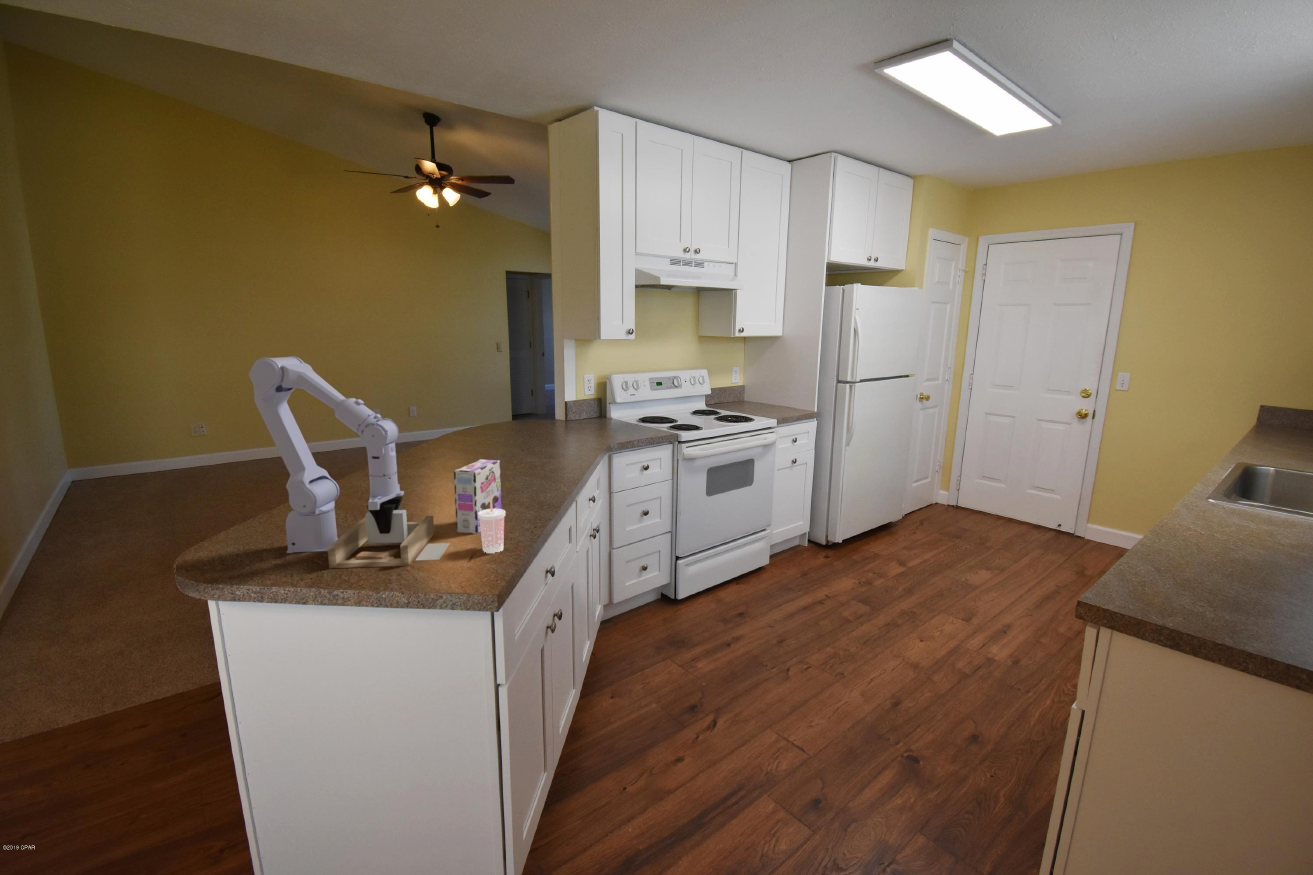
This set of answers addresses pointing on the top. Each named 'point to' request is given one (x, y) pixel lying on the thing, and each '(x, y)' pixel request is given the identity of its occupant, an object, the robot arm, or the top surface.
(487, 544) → the beverage cup
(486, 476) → the candy box
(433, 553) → the mat
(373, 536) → the panel
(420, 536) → the rack
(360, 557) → the offcut short
